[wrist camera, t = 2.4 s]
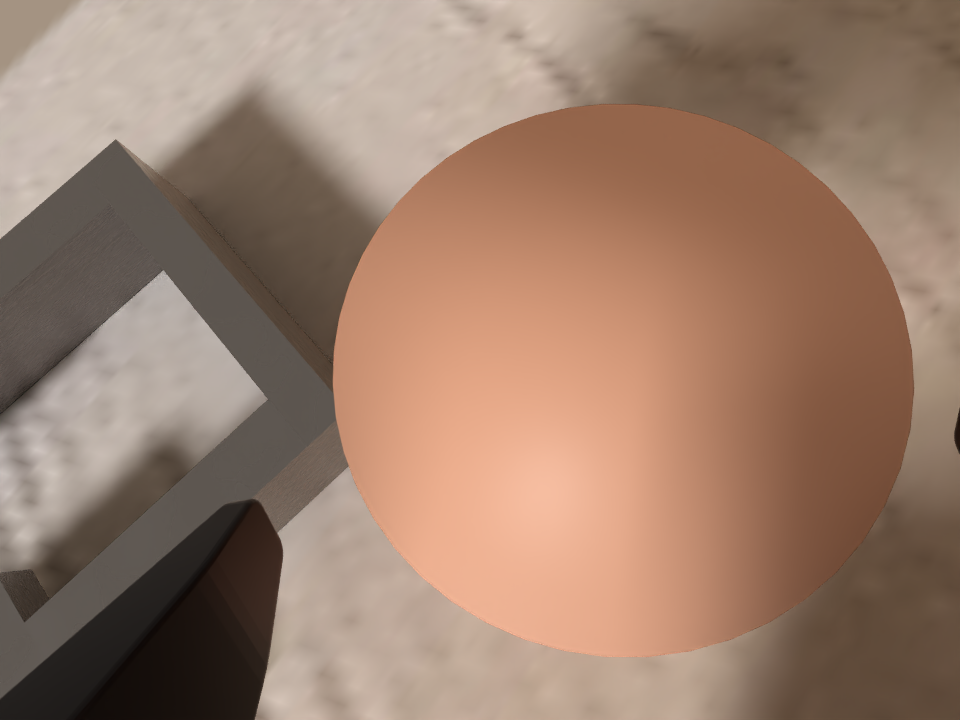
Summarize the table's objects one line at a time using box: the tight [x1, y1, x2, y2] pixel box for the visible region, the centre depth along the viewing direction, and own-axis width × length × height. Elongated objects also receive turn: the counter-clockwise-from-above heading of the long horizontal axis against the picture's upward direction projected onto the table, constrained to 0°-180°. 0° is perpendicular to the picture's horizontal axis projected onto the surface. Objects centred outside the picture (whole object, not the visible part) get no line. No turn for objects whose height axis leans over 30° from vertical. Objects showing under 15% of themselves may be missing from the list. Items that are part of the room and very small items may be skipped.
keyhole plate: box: [0, 140, 349, 698], centre depth 17 cm, size 18×11×3 cm, turn 134°
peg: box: [333, 104, 914, 657], centre depth 10 cm, size 6×6×13 cm
